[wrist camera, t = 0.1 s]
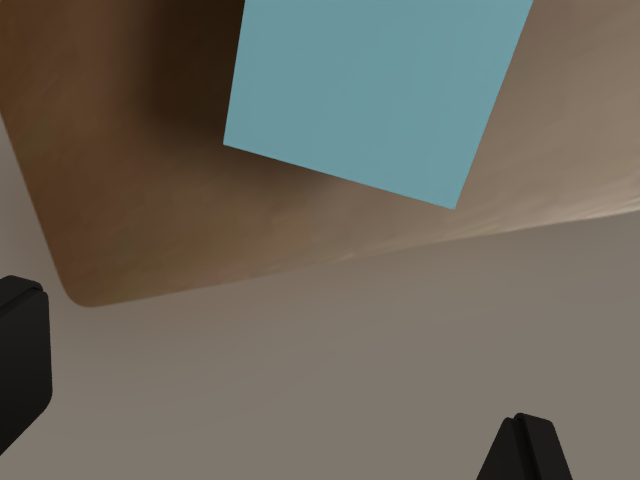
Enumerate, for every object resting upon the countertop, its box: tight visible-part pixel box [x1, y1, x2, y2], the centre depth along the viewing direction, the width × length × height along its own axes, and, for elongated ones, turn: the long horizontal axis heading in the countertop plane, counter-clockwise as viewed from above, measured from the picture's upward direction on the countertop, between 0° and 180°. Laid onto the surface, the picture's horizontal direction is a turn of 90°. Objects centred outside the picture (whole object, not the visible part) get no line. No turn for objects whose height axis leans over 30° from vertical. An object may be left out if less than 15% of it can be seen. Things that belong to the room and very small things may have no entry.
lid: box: [223, 0, 533, 209], centre depth 24 cm, size 15×13×6 cm
